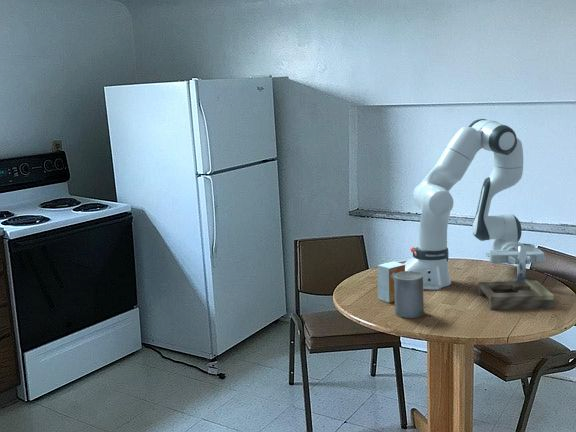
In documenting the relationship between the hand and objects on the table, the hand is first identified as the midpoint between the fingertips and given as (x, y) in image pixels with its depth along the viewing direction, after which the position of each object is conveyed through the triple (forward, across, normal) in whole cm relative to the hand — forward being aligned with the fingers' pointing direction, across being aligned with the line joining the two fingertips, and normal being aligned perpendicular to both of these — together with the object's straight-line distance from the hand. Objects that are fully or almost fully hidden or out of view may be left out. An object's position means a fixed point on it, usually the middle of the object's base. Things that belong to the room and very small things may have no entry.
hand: (522, 262), depth 236 cm
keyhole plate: (+15, -7, +10) cm, 19 cm away
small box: (+9, -50, +11) cm, 52 cm away
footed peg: (-1, 0, +9) cm, 9 cm away
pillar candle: (+25, -46, +10) cm, 53 cm away
